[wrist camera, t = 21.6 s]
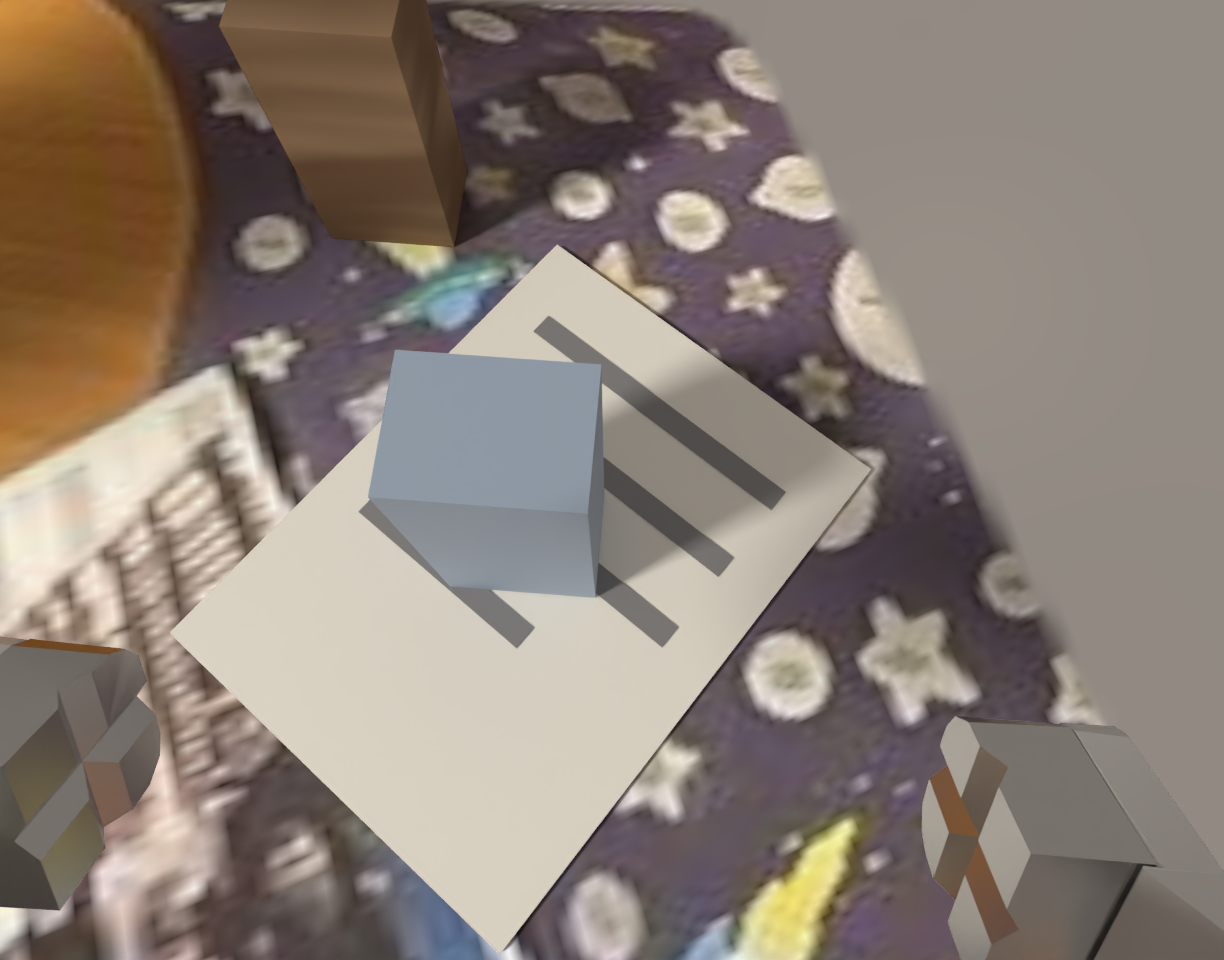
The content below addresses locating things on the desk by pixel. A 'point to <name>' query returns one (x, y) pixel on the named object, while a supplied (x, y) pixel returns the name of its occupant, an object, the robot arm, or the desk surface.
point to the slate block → (495, 469)
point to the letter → (527, 610)
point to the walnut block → (357, 111)
